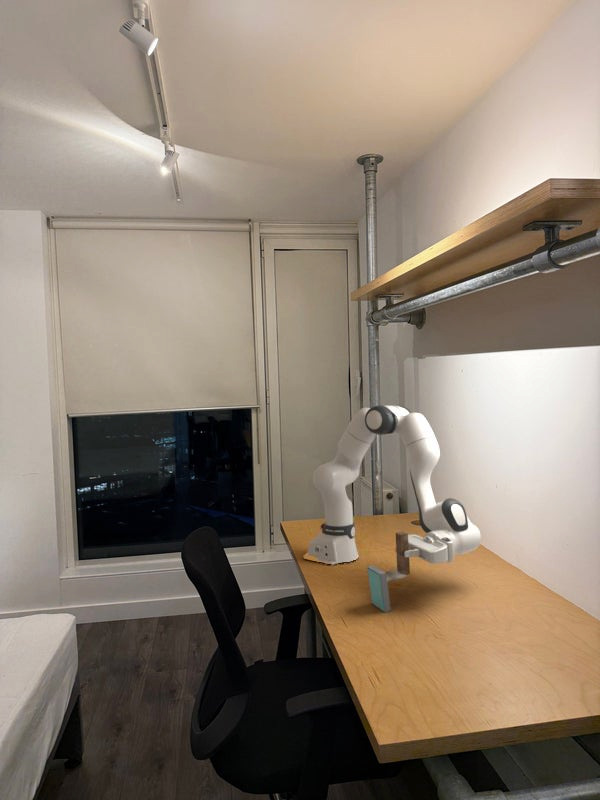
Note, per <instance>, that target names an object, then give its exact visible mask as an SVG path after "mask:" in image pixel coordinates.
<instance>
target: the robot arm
mask: <svg viewBox="0 0 600 800" xmlns="http://www.w3.org/2000/svg"><path fill="white" fill-rule="evenodd" d="M377 435H378V436H389V437H390V436H396V435H397V436H399V437H400V438H401V440H402V443H403V446H404V448H405V451H406V455H407V459H408V462H409V474H410V479H411V484H412V488H413V491H414V495H415V498H416V502H417V506H418V514H419V515H418V519H419V520H418V521H419V524H420V527H421V529H422V530H423V531H424V533H425V536H424V537H423V536H421V535H418V534H408V544H409V550H404V551H403V556H405V557H409V558H410V557H412V558H419V559H421V560H423V561H425V562H428V563H429V564H435V565H436V564H442V563H453V562H455V555H456V556H459V555H463V554H464V555H465V554H467V553H470V552H473V551H475V550H476V549H478V548H479V546H480V544H481V542H482V535H481V531H480V529H479V528H478V527H477V525H475V524H473V522H471V520H470V518H469V516H468V515H467V512H466V509H465V506H464V505H463V504H462V503H461V502H460V501H459V500H458V499H456V498H452V497H451V498H446V499H443V500H442V501H439V502H438V503H436V499H435V496H434V493H433V492H434V491H433V489H432V485H431V476H432V473H433V471H434V469H435V467H436V466H437V464H438V462H439V460H440V457H441V451H440V450H441V449H440V445H439V443H438V441H437V440H438V439H437V437H436V435H435V433H434V431H433V429H432V427H431V426H430V423H429V422H428V420H427V419H426V417H425V416H424V415H423V414H422V413H419V412H413V411H411V410H410V409H409V408H407V407H405V406H402V405H400V406H398V405H393V404H389V405H387V404H386V405H382V404H379V405H375V406H373V407H361V408H360V409H359V410H358V412H357V413H356V414H355V415H354V416H353V418H352V419H351V421H350V422H349V424H348V425H347V427H346V428H345V431H344V432H343V434H342V436H341V437H340V439H339V441H338V443H337V448H338V449H337V453H336V456H335V457H334V458H333V460H331V461H329V462H326V463H323V464H321V465H320V466H319V467H316V469H315V470H314V472H313V474H312V484H313V485H314V486H315V488H316V489H317V490H318V491H319V493H320V495H321V498H322V501H323V502H322V503H323V508H324V523H322V524H320V525H319V529H320V530H321V531H320V532H319V533H318V534H317V535H315V537H313V538H312V539H311V540H310V541H309V544H308V549H307V551H308V555H309V556H313V557H316V558H318V560H319V561H322V562H326V563H330V564H335V563H340V562H341V563H342V562H350V561H353V560H356V559H357V558H358V557H359V558H360V556H359V553H358V548H357V544H356V538H355V536H356V527H355V521H354V514H353V513H354V511H353V503H352V501H351V500H350V499H349V497H348V495H347V490H346V486H348V485H351V484H352V483H354V481H356V480H357V479H358V477H359V475H360V472H361V471H360V467H361V464H362V462H363V459H364V457H365V455H366V453H367V451H368V449H369V448H370V446H371V445H372V443H373V441H374V440H375V438H376V436H377ZM394 549H395V550H394V552H395V553H396V547H395V548H394ZM356 561H357V560H356ZM350 563H351V562H350Z"/></svg>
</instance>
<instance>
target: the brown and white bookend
mask: <svg viewBox="0 0 600 800" xmlns="http://www.w3.org/2000/svg"><path fill="white" fill-rule="evenodd" d="M408 535H409V533H408V532H406V531H403V530H402V531H397V532H395V548H396V552H395V553H396V566H397V567H396V569H394V570H389V571H385V572H386V576H387V582H390V581H395V580H398V579H399V580H400V579H402V578H403V579H404V578H407V576H409V575H411V568H410V557H405V556H403V551H404V550H409V544H408Z"/></svg>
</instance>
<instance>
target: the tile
mask: <svg viewBox="0 0 600 800" xmlns="http://www.w3.org/2000/svg"><path fill="white" fill-rule="evenodd" d="M366 568H367V575H368V583H369V592H370V598H371V599H370V600H371V604H372V605H374V606H375V607H376V608H377V609H379V610H381V611H382V612H383V613H388V612H391V611H392V609H391V602H390V595H389V592H390V591H389V586H388V581H387V576H386V572H387V571H384V570H383V569H380V568H379V567H377V566H375V565H373V564H372V565H367V567H366Z"/></svg>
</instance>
